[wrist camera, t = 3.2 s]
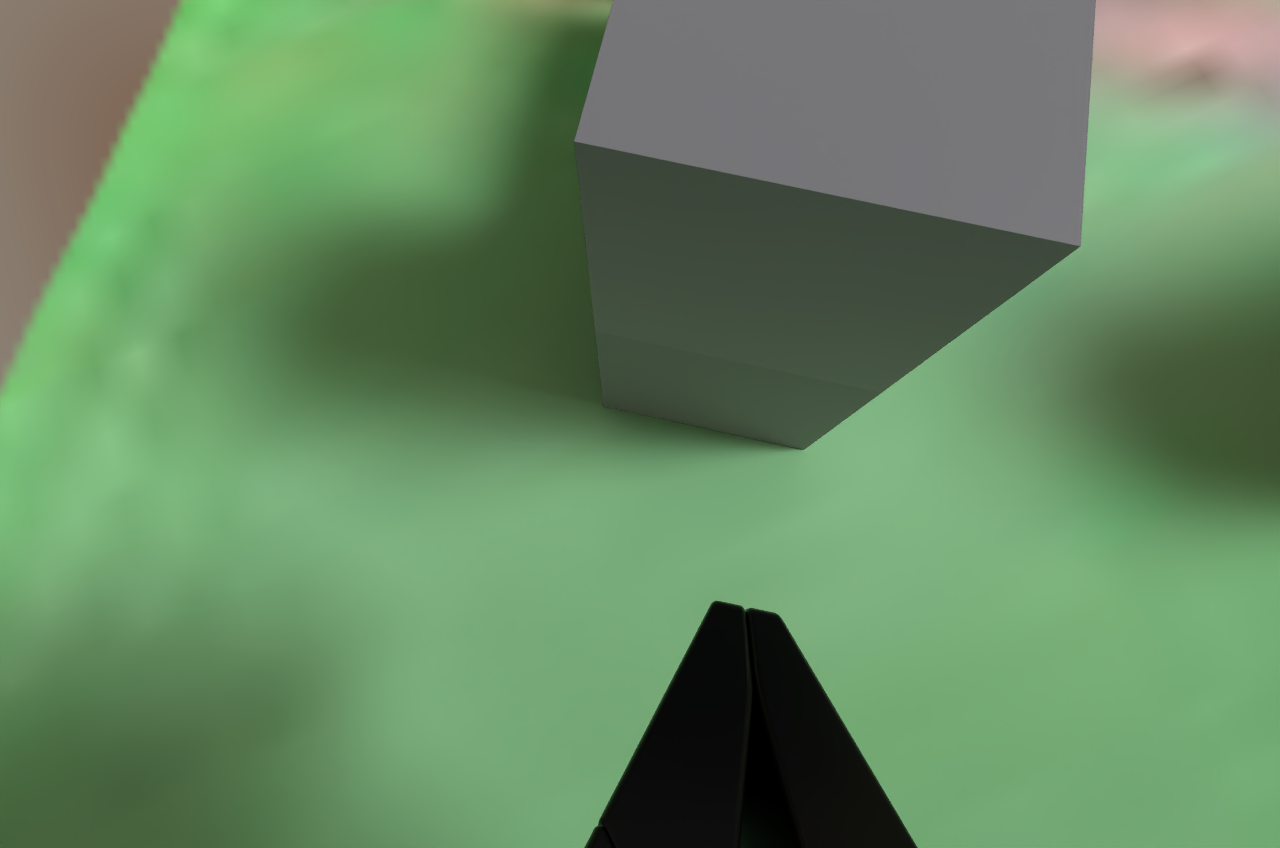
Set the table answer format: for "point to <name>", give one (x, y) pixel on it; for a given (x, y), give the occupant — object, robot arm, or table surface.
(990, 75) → the grey block
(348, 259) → the table surface
